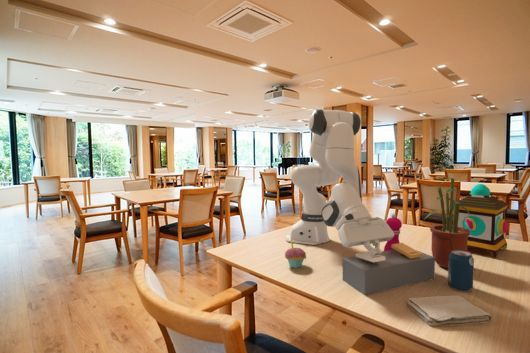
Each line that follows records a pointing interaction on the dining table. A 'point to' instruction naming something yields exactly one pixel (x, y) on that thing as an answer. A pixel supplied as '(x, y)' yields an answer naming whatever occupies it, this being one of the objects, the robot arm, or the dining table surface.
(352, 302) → the dining table surface
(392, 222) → the pepper mill
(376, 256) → the cream rocker
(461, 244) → the potted plant
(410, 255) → the bar
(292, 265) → the cupcake
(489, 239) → the decorative lantern
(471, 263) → the soda can
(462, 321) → the washcloth
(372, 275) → the grey rectangular block
